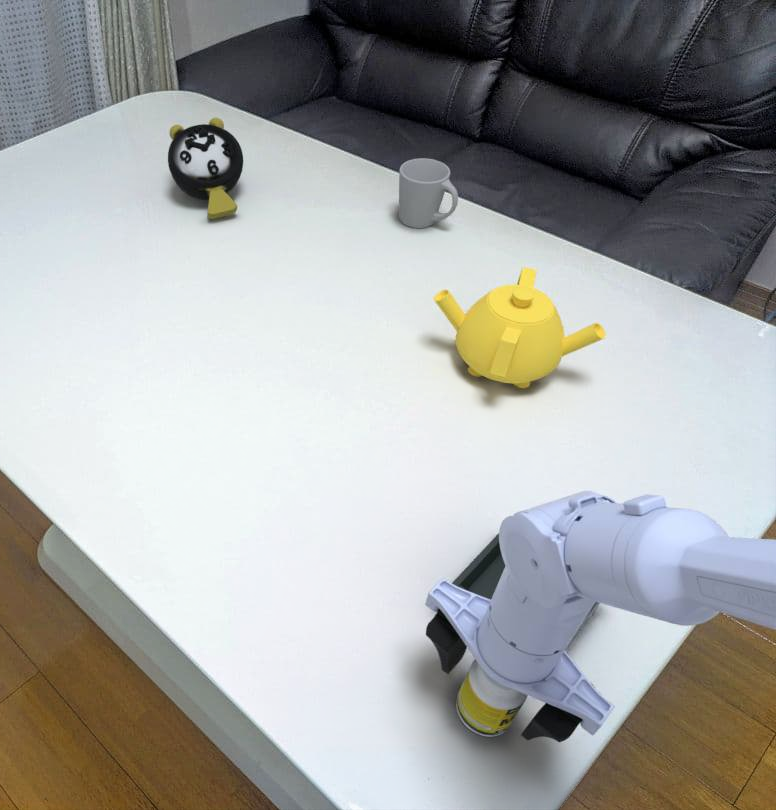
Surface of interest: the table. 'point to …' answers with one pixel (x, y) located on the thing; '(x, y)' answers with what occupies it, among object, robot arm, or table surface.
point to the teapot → (513, 332)
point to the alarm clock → (206, 164)
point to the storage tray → (490, 574)
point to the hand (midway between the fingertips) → (489, 695)
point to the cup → (424, 192)
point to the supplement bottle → (487, 703)
